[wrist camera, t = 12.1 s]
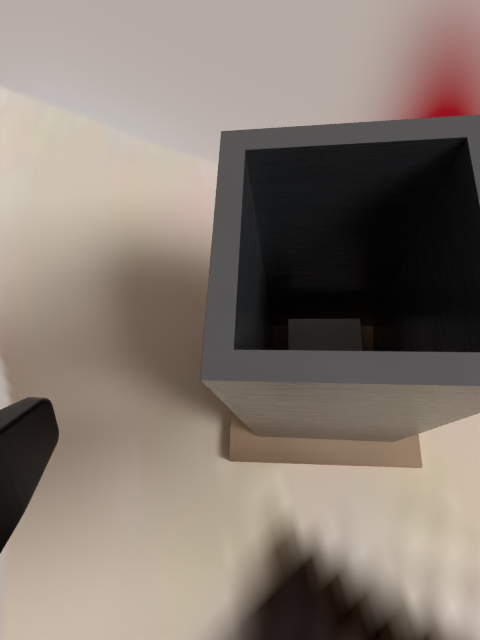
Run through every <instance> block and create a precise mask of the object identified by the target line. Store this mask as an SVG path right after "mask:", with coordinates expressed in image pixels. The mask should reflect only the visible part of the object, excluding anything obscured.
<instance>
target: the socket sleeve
mask: <svg viewBox="0 0 480 640" xmlns="http://www.w3.org/2000/svg"><path fill="white" fill-rule="evenodd" d="M219 153H220V154H219V164H218V176H217V188H216V199H215V211H214V223H213V235H212V246H211V258H210V270H209V282H208V294H207V305H206V317H205V329H204V341H203V352H202V364H201V376H200V381H201V382H202V383H203V384H205V385H206V386H207V387H208V388H209V389H210V390H211V391H212V392H213V393H214V394H215V395H216V396H217V397H218V398H219V399H220V400H221V401H222V402H223V403H224V404H225V405H226V406H227V407H228V408H229V409H230V410H231V411H232V412H233V413H234V414H235V415H236V416H237V417H238V418H239V419H240V420H241V421H242V422H243V423H244V424H245V425H247V426H248V427H249V428H250V429H251V430H252V431H253V432H254V433H255V434H256V435H257V436H258V437H283V438H307V439H332V440H356V441H381V442H396V441H398V440H401V439H404V438H407V437H410V436H413V435H416V434H419V433H422V432H425V431H428V430H431V429H434V428H437V427H439V426H442V425H445V424H448V423H451V422H454V421H457V420H460V419H463V418H466V417H469V416H472V415H475V414H478V413H480V115H467V116H452V117H436V118H421V119H406V120H390V121H374V122H359V123H344V124H329V125H312V126H297V127H281V128H266V129H251V130H236V131H222V132H221V141H220V152H219ZM288 319H360V325H361V326H372V333H373V348H374V351H304V350H273V326H288Z"/></svg>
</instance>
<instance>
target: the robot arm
mask: <svg viewBox="0 0 480 640" xmlns="http://www.w3.org/2000/svg"><path fill="white" fill-rule="evenodd" d="M58 438H59V429H58V425H57V421H56V417H55V414H54V410H53V406H52V403H51V401H50V400H49V399H47V398H36V397H29V398H25V399H23V400H21V401H19V402H16V403H14V404H12V405H10V406H8V407H5V408H3V409H1V410H0V553H1V552H2V550H3V548H4V546H5V545H6V543H7V541H8V540H9V538H10V536H11V535H12V533H13V531H14V529H15V528H16V526H17V524H18V523H19V521H20V519H21V517H22V515H23V514H24V512H25V510H26V508H27V506H28V504H29V502H30V500H31V498H32V496H33V494H34V491H35V489H36V487H37V485H38V483H39V481H40V479H41V476H42V474H43V472H44V470H45V468H46V466H47V464H48V461H49V459H50V457H51V455H52V453H53V451H54V449H55V447H56V444H57V442H58Z"/></svg>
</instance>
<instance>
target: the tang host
mask: <svg viewBox="0 0 480 640" xmlns="http://www.w3.org/2000/svg"><path fill="white" fill-rule="evenodd" d="M273 350H304V351H374V348H373V333H372V326H361V325H360V319H288V326H273ZM229 461H235V462H264V463H292V464H321V465H350V466H379V467H408V468H421V467H422V460H421V452H420V444H419V435H418V434H416V435H413V436H410V437H407V438H404V439H401V440H398V441H396V442H381V441H356V440H332V439H307V438H283V437H258V436H257V435H256V434H255V433H254V432H253V431H252V430H251V429H250V428H249V427H248V426H247V425H245V424H244V423H243V422H242V421H241V420H240V419H239V418H238V417H237V416H236V415H235V414H234V413H233V412H232V411H231V425H230V448H229Z"/></svg>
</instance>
